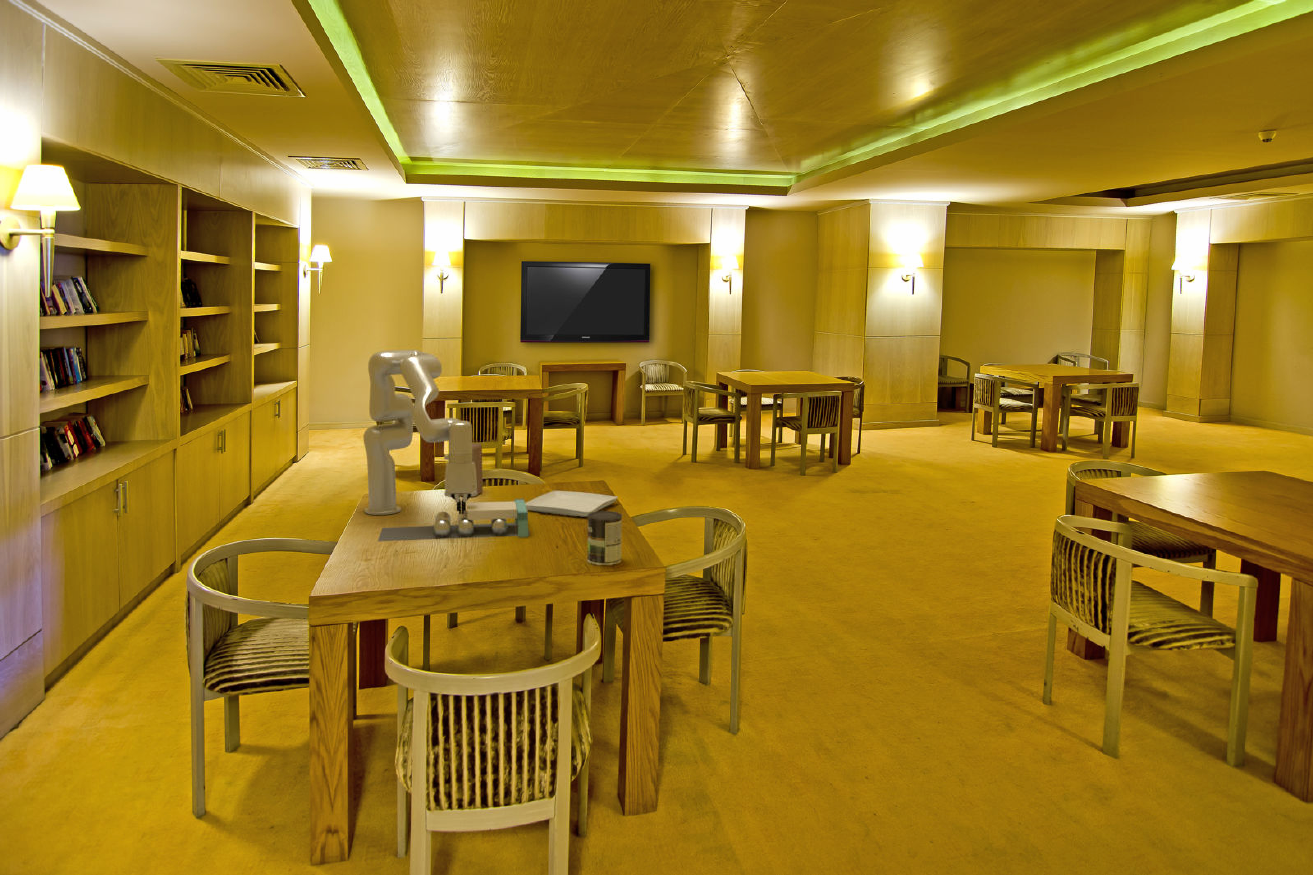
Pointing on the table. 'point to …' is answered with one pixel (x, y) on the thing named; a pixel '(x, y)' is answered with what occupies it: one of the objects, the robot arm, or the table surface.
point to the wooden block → (477, 465)
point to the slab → (491, 510)
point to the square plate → (570, 503)
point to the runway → (479, 529)
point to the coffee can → (604, 538)
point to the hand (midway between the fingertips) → (461, 513)
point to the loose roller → (499, 526)
